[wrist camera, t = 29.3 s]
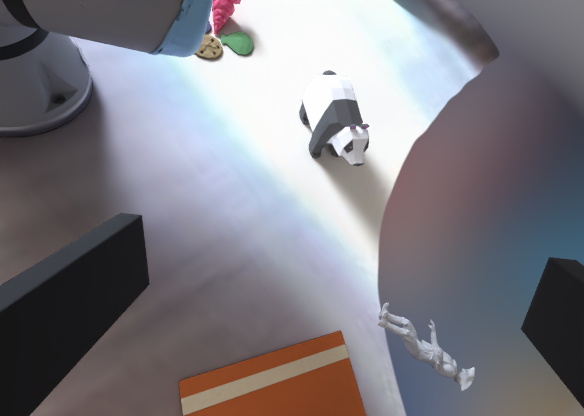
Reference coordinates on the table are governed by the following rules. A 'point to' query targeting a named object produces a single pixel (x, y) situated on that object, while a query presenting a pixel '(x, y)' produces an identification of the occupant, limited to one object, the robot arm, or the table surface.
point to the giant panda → (334, 118)
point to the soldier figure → (426, 348)
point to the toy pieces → (235, 41)
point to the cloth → (279, 384)
